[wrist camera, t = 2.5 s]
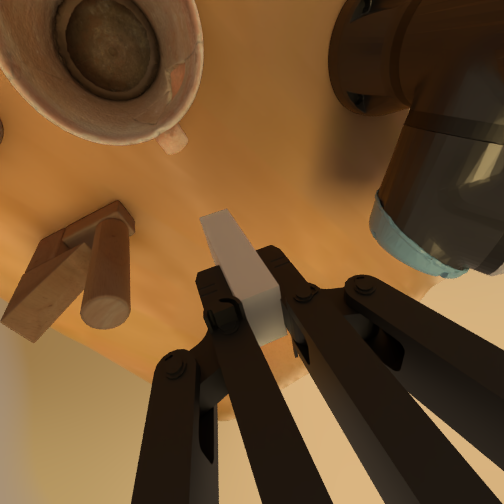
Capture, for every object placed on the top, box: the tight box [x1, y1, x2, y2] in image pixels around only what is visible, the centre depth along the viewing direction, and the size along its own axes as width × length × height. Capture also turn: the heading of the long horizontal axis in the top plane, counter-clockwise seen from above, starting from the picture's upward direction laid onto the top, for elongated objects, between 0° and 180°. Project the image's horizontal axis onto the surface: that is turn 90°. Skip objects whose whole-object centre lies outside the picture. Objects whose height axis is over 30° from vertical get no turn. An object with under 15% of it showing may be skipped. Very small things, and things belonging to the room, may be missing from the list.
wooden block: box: [1, 201, 135, 343], centre depth 29 cm, size 4×11×18 cm, turn 112°
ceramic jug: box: [0, 0, 204, 155], centre depth 22 cm, size 18×14×14 cm
